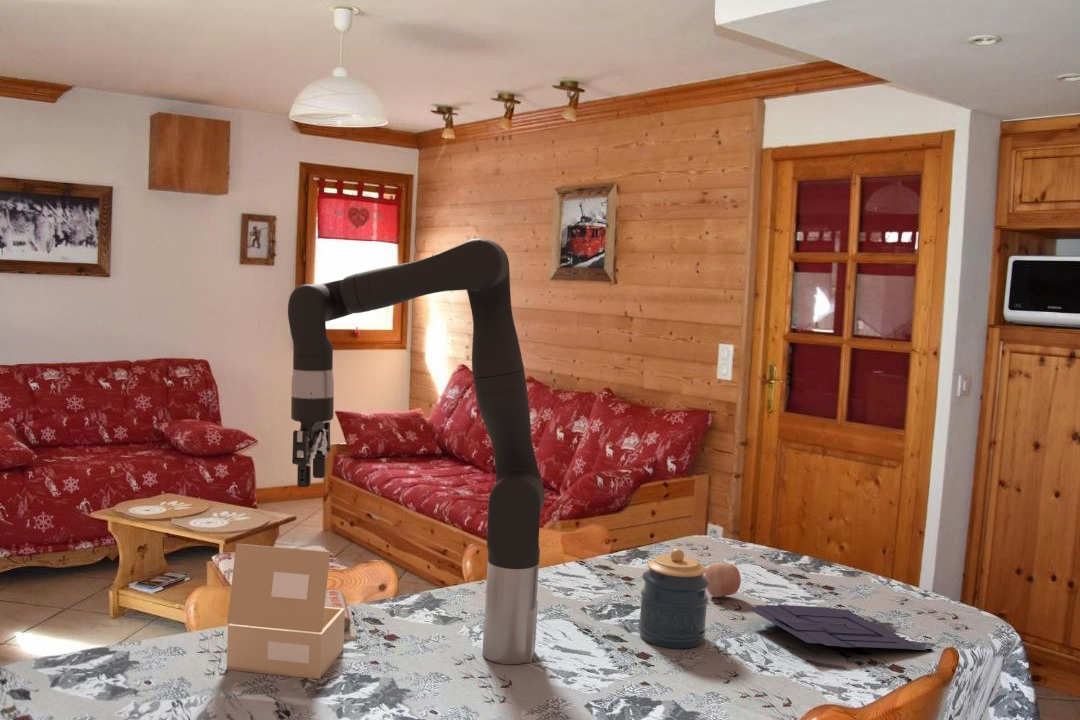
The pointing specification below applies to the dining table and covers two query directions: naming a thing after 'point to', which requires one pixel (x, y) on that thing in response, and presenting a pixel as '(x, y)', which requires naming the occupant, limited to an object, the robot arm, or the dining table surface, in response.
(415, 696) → the dining table surface
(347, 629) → the packaged product
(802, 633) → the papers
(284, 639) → the mailer box
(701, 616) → the canister
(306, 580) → the lid
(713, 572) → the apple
